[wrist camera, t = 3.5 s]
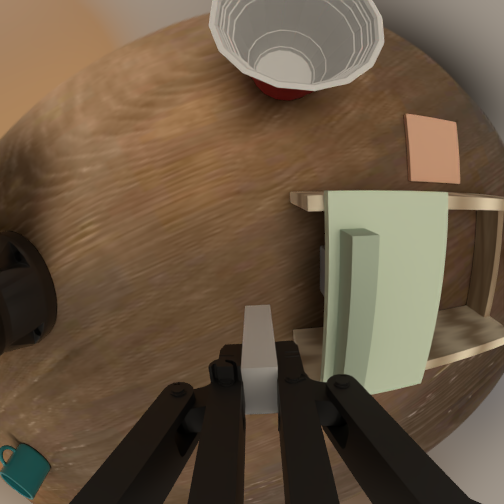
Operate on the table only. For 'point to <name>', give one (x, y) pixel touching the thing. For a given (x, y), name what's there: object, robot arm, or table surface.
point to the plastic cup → (298, 42)
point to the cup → (24, 469)
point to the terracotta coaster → (432, 149)
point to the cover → (382, 284)
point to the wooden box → (449, 320)
